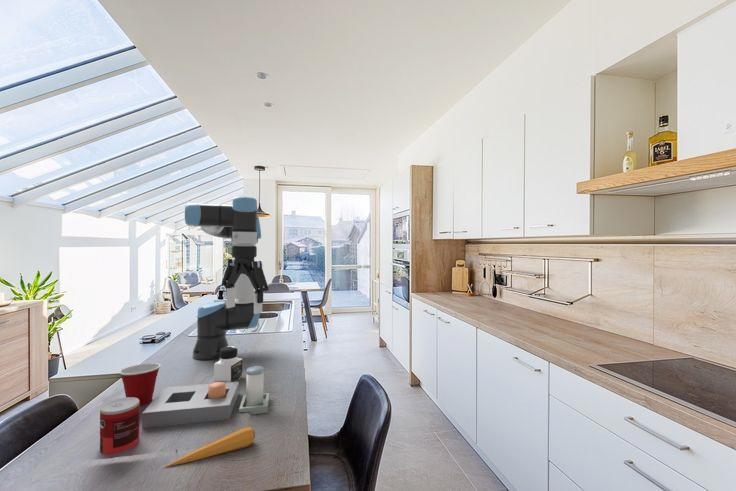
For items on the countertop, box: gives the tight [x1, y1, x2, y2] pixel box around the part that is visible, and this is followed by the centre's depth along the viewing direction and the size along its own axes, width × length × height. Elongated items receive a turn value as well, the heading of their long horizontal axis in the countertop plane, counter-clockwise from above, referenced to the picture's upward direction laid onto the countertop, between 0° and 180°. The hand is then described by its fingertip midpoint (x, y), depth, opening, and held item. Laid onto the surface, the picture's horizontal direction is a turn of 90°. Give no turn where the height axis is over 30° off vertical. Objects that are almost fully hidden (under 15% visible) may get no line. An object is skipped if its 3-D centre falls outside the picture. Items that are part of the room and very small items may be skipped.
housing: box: [141, 381, 240, 429], centre depth 98 cm, size 16×22×5 cm
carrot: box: [163, 426, 256, 468], centre depth 79 cm, size 20×4×4 cm, turn 120°
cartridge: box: [245, 365, 265, 407], centre depth 102 cm, size 5×5×11 cm
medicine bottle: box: [213, 345, 243, 383], centre depth 122 cm, size 7×7×12 cm
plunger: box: [208, 381, 227, 399], centre depth 100 cm, size 5×5×6 cm
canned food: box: [99, 396, 141, 458], centre depth 81 cm, size 8×8×11 cm
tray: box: [238, 392, 270, 415], centre depth 102 cm, size 9×8×2 cm
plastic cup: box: [118, 362, 161, 407], centre depth 102 cm, size 11×11×12 cm
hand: (243, 310), depth 107 cm, fingers open, 13 cm apart
